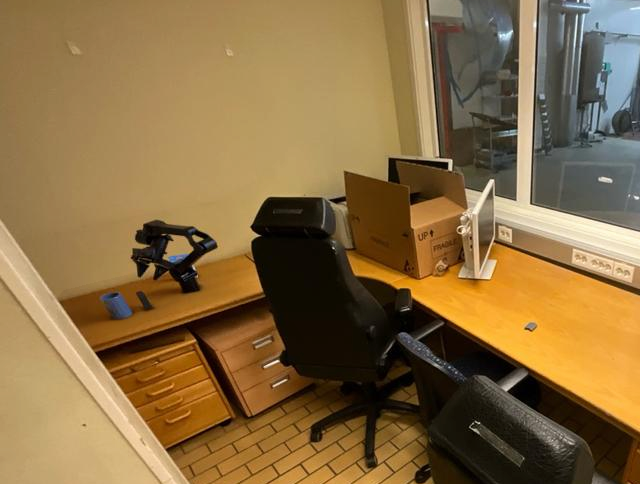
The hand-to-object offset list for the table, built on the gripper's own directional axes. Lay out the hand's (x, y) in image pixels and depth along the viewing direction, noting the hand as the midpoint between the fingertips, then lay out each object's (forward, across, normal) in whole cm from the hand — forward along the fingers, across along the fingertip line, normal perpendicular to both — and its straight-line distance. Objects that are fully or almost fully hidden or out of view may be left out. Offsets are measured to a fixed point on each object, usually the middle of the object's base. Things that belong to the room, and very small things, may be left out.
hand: (146, 278), depth 180 cm
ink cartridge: (+13, +2, +4) cm, 14 cm away
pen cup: (+19, -2, -2) cm, 19 cm away
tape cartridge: (-8, -8, +24) cm, 27 cm away
